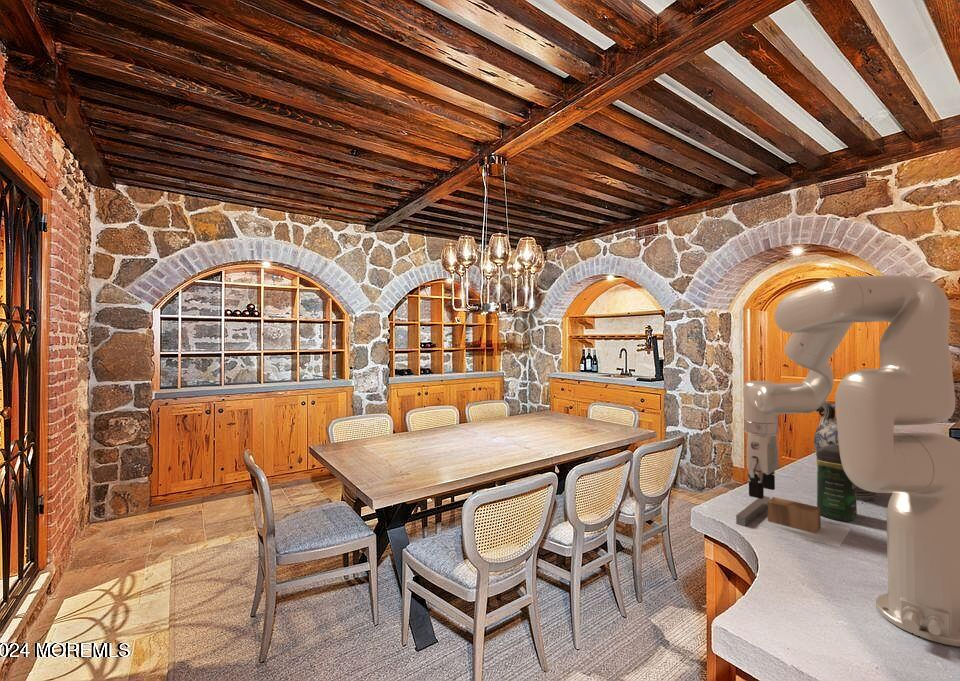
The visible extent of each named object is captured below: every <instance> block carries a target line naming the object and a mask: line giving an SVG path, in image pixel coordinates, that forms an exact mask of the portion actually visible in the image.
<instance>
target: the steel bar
mask: <svg viewBox="0 0 960 681" xmlns="http://www.w3.org/2000/svg"><path fill="white" fill-rule="evenodd" d="M770 499H771V497H770V496H767V495H764V498H763V499H759V498H756V499H755V500H754V501H752V503H750V504H749V505H747V507H745V508H744V509H742V510H741V511H739V512H738V513H737V514H736V515H735V517H736V518H735V519H736V520H735V522H736V525H739V526H741V527H746V526H748V524H750V523H751V522H753V520H755V519H756V518H757V517H758V516H759V515H760V514H762V513H763V512H764V511H765V510H766V509H768V504H767V502H768V501H769V500H770Z"/></svg>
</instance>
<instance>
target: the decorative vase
mask: <svg viewBox="0 0 960 681" xmlns="http://www.w3.org/2000/svg"><path fill="white" fill-rule="evenodd" d="M815 412H816V413H817V412H818V414H819V416H821V417H820V420H819V424H818V427H817V429H816V431H815V433H814V437H813V440H814V441H813V444H814V451H815V455H816V456H817V450H818V449H820V448H821V447H824V446H828V445H830V444H835V445H839V441H838V430H837V419H836V408H835V402H834V403H831V402H829V401H828V400H827V399H826V400H825V402H824V403H823V404H822V405H821V407H819V408H818V409H817V410H816V411H815ZM878 499H879V495H878V492H870V491H866V490H863V489H861V488H859V487H858V486H856V501H858V500H859V501H868V500H870V501H876V500H878Z"/></svg>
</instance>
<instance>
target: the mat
mask: <svg viewBox="0 0 960 681" xmlns="http://www.w3.org/2000/svg"><path fill="white" fill-rule="evenodd" d="M758 526H759V527H762V528H766V529H769V530H773V531H777V532H780V533H784V534H788V535H791V536H795V537H798V538H799V537H800V538H803V539H806V540H810V541H814V542H817V543H821V544H824V545H829V546H833V547H836V548H840V546H841V545H842V544H843V542H844V540H845V539H846V538H847V535H848V534H849V533H850V531H851V529H852V528H850V527H847V526H844V525H838V524H833V523H829V522H826V521H823V520H822V521H821V528H820V529H819V530H818V532H817V533H816V534H815V533H811V532H807V531H803V530H799V529H796V528H792V527H788V526H784V525H780V524H776V523H773V522H769V521H768V516H766V517H765V518H764V519H763V520H762V521H761V522H760V523H759V524H758Z"/></svg>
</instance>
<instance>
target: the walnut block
mask: <svg viewBox="0 0 960 681" xmlns="http://www.w3.org/2000/svg"><path fill="white" fill-rule="evenodd" d="M767 504H768V507H767V517H768V521H769V522H773V523H776V524H780V525H784V526H788V527H792V528H796V529H799V530H803V531H807V532H811V533H815V534H816V533H817V532H818V530H819V529H820V528H821V519H822V518H821V515H820V507H817V505H811V504H807V503H802V502H798V501H793V500H788V499H784V498H780V497H775V496H772V498H770V500H769V501H768V502H767Z"/></svg>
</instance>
